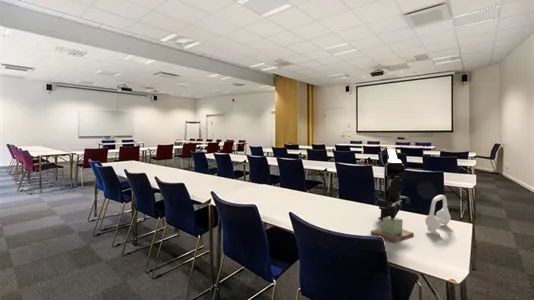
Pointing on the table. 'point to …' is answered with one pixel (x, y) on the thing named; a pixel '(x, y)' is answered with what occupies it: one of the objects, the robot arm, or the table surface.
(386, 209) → the robot arm
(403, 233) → the brown rectangular block
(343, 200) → the table surface
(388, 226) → the sage green cube
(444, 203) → the headset
